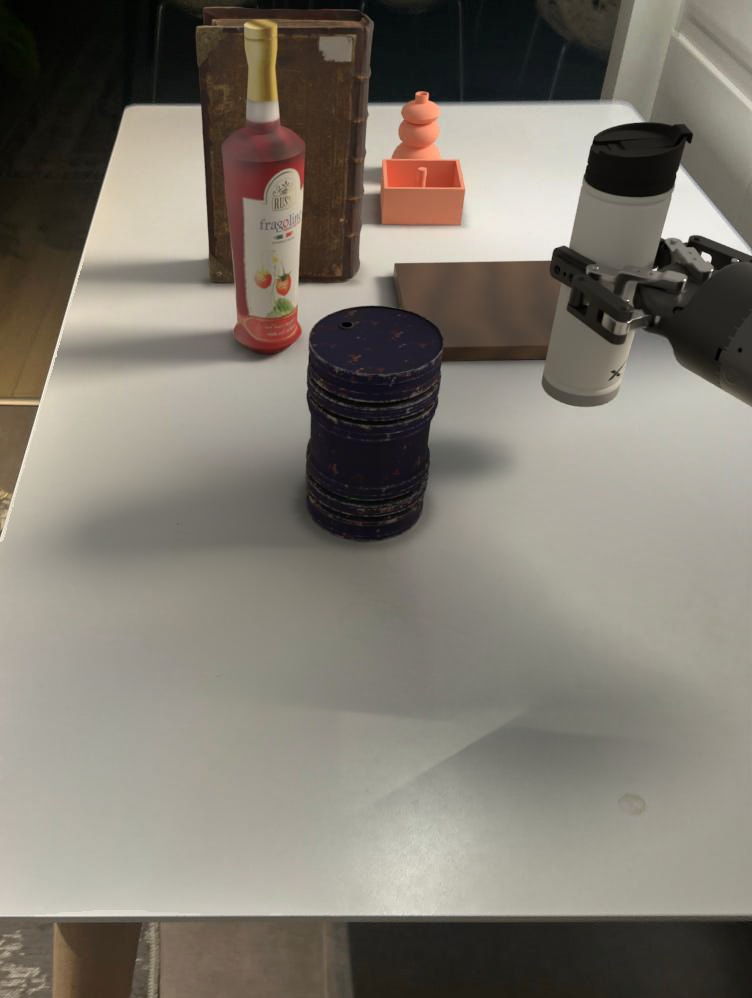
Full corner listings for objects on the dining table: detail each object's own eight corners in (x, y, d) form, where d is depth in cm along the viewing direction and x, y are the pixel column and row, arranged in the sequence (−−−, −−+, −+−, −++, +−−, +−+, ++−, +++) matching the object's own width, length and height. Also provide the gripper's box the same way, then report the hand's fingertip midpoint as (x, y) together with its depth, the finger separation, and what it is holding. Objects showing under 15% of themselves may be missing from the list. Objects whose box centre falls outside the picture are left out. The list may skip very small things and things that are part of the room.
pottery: (460, 224, 115) (472, 137, 108) (381, 224, 115) (387, 137, 108) (449, 166, 127) (459, 85, 120) (378, 166, 127) (383, 84, 120)
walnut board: (573, 272, 106) (576, 259, 105) (613, 358, 94) (617, 344, 93) (393, 275, 106) (394, 262, 105) (409, 361, 94) (411, 347, 93)
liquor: (257, 369, 93) (246, 43, 73) (218, 338, 97) (198, 21, 77) (318, 347, 96) (324, 26, 75) (277, 317, 100) (273, 6, 80)
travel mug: (631, 407, 77) (706, 144, 63) (549, 409, 77) (606, 147, 63) (611, 367, 81) (678, 112, 67) (534, 369, 82) (584, 114, 67)
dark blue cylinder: (449, 503, 79) (474, 338, 68) (369, 560, 74) (383, 392, 63) (359, 453, 84) (369, 291, 73) (280, 503, 79) (278, 338, 68)
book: (362, 262, 108) (376, 6, 90) (357, 292, 104) (371, 28, 85) (218, 255, 110) (203, 3, 92) (206, 284, 105) (188, 24, 87)
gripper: (863, 260, 62) (670, 175, 72) (706, 320, 58) (523, 221, 68) (818, 362, 68) (644, 270, 78) (671, 425, 63) (507, 319, 73)
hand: (589, 248), depth 73 cm, fingers closed on travel mug, 6 cm apart
